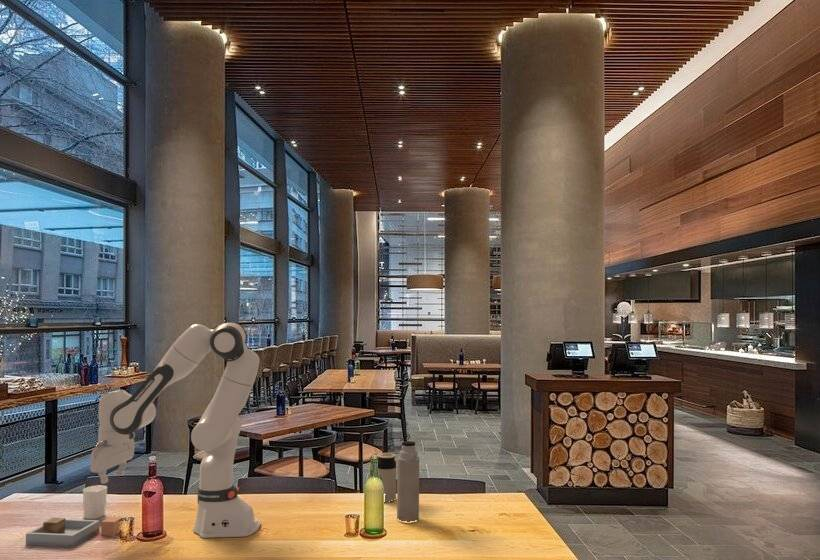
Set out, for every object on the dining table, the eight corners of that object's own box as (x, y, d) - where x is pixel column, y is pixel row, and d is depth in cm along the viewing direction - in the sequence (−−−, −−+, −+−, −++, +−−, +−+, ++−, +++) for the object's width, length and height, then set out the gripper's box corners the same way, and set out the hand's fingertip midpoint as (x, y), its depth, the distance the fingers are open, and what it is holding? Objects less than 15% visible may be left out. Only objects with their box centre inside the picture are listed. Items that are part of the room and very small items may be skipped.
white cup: (95, 520, 214) (96, 492, 215) (76, 518, 216) (78, 490, 216) (111, 513, 222) (112, 486, 222) (92, 511, 223) (93, 484, 224)
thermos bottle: (392, 519, 218) (393, 441, 219) (410, 514, 223) (410, 438, 224) (405, 525, 211) (406, 445, 213) (423, 520, 216) (423, 442, 218)
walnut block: (64, 531, 200) (65, 518, 200) (55, 536, 195) (56, 522, 196) (52, 531, 200) (52, 517, 201) (42, 536, 196) (43, 522, 196)
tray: (99, 530, 204) (99, 520, 204) (72, 546, 190) (72, 535, 190) (55, 529, 205) (55, 518, 205) (25, 544, 191) (26, 533, 191)
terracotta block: (121, 530, 204) (121, 517, 205) (113, 535, 200) (114, 521, 200) (108, 530, 205) (109, 517, 205) (101, 535, 200) (101, 521, 200)
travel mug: (391, 496, 245) (392, 451, 246) (398, 501, 238) (399, 456, 239) (373, 498, 242) (373, 453, 243) (379, 504, 235) (380, 457, 236)
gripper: (103, 444, 193) (103, 487, 193) (137, 432, 214) (137, 471, 213) (84, 444, 194) (84, 487, 193) (121, 432, 214) (120, 471, 214)
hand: (112, 479), depth 203 cm, fingers open, 8 cm apart
